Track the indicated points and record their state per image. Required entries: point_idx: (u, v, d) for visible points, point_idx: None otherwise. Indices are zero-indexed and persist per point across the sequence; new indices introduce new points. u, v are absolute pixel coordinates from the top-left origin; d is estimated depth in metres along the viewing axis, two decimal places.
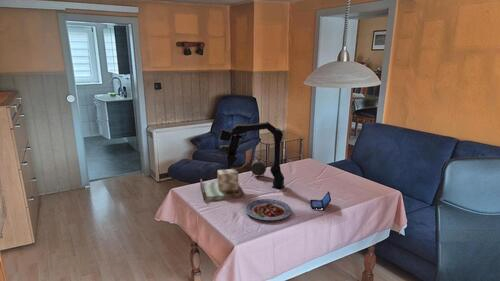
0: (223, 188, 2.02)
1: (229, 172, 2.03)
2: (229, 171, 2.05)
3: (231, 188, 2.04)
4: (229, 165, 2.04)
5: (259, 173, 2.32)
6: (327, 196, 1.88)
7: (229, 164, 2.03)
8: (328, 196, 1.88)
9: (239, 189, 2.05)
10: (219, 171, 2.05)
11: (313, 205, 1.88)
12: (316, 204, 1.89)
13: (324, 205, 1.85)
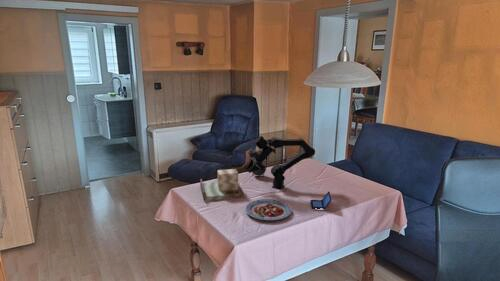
0: (223, 188, 2.02)
1: (229, 172, 2.03)
2: (229, 171, 2.05)
3: (231, 188, 2.04)
4: (251, 170, 2.04)
5: (259, 173, 2.32)
6: (327, 196, 1.88)
7: (252, 169, 2.04)
8: (328, 196, 1.88)
9: (239, 189, 2.05)
10: (219, 171, 2.05)
11: (313, 205, 1.88)
12: (316, 204, 1.89)
13: (324, 205, 1.85)
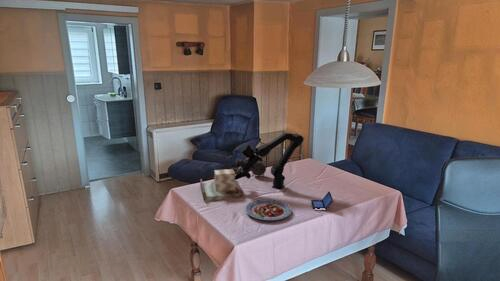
0: (220, 188, 2.02)
1: (226, 172, 2.02)
2: (226, 171, 2.04)
3: (228, 188, 2.03)
4: (237, 177, 2.06)
5: (259, 173, 2.32)
6: (328, 196, 1.88)
7: (237, 177, 2.06)
8: (329, 196, 1.88)
9: (239, 189, 2.05)
10: (216, 171, 2.04)
11: (314, 205, 1.87)
12: (317, 204, 1.89)
13: (326, 205, 1.85)
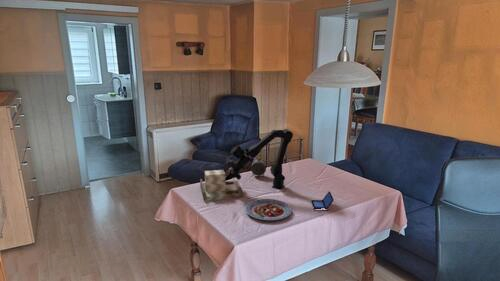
0: (210, 189, 2.00)
1: (216, 173, 2.01)
2: (216, 172, 2.03)
3: (218, 189, 2.02)
4: (227, 178, 2.05)
5: (259, 173, 2.32)
6: (329, 196, 1.88)
7: (228, 177, 2.04)
8: (330, 196, 1.88)
9: (239, 189, 2.05)
10: (206, 172, 2.03)
11: (315, 205, 1.87)
12: (318, 204, 1.89)
13: (326, 205, 1.85)
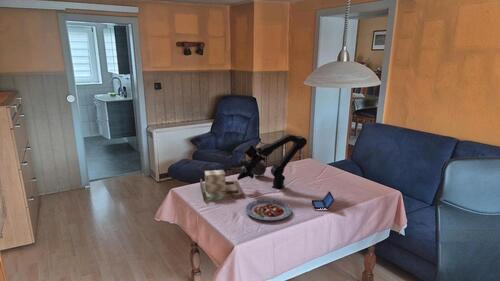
0: (210, 189, 2.00)
1: (216, 173, 2.01)
2: (216, 172, 2.03)
3: (218, 189, 2.02)
4: (240, 177, 2.07)
5: (259, 173, 2.32)
6: (329, 196, 1.89)
7: (241, 176, 2.06)
8: (330, 196, 1.88)
9: (239, 189, 2.05)
10: (206, 172, 2.03)
11: (316, 206, 1.87)
12: (318, 204, 1.88)
13: (327, 205, 1.85)
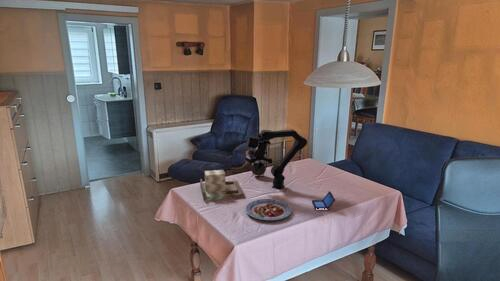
0: (210, 189, 2.00)
1: (216, 173, 2.01)
2: (216, 172, 2.03)
3: (218, 189, 2.02)
4: (255, 169, 2.08)
5: (259, 173, 2.32)
6: (329, 196, 1.89)
7: (255, 168, 2.08)
8: (330, 196, 1.88)
9: (239, 189, 2.05)
10: (206, 172, 2.03)
11: (316, 206, 1.87)
12: (319, 204, 1.88)
13: (327, 205, 1.85)
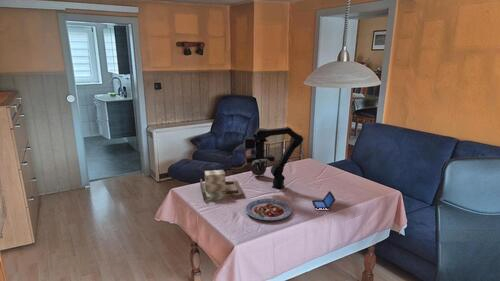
0: (210, 189, 2.00)
1: (216, 173, 2.01)
2: (216, 172, 2.03)
3: (218, 189, 2.02)
4: None
5: (259, 173, 2.32)
6: (330, 196, 1.89)
7: (257, 167, 2.09)
8: (331, 196, 1.88)
9: (239, 189, 2.05)
10: (206, 172, 2.03)
11: (317, 206, 1.87)
12: (319, 205, 1.88)
13: (328, 205, 1.85)
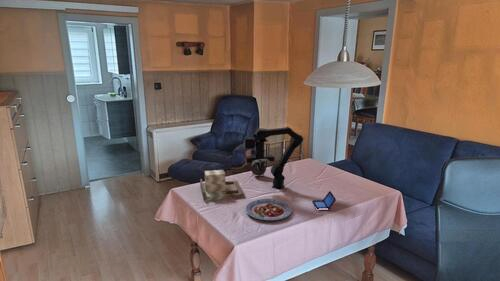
0: (210, 189, 2.00)
1: (216, 173, 2.01)
2: (216, 172, 2.03)
3: (218, 189, 2.02)
4: None
5: (259, 173, 2.32)
6: (330, 196, 1.89)
7: (257, 167, 2.09)
8: (331, 196, 1.88)
9: (239, 189, 2.05)
10: (206, 172, 2.03)
11: (317, 206, 1.87)
12: (320, 205, 1.88)
13: (328, 205, 1.85)
